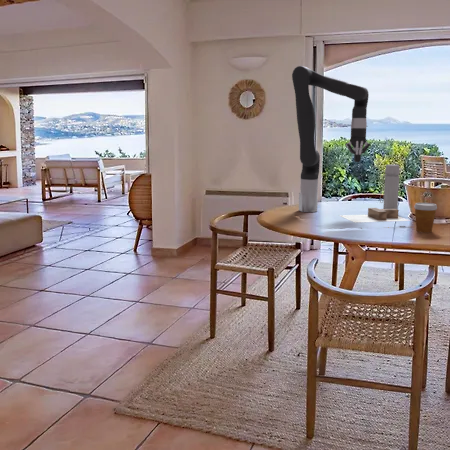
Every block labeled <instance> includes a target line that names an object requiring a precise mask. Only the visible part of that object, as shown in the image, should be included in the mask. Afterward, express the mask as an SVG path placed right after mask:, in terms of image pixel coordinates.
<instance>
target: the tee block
mask: <svg viewBox="0 0 450 450" xmlns="http://www.w3.org/2000/svg"><path fill="white" fill-rule="evenodd" d="M399 211H400V210H399V209H383V208H377V207H368V209H367V215H368V216H369V217H372V218H374V219H377V220H386V218H398V216H399Z"/></svg>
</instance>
